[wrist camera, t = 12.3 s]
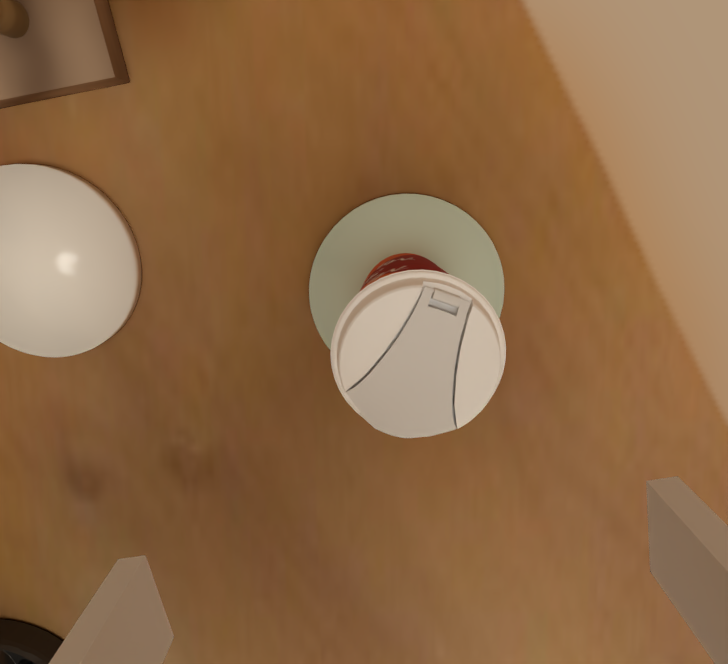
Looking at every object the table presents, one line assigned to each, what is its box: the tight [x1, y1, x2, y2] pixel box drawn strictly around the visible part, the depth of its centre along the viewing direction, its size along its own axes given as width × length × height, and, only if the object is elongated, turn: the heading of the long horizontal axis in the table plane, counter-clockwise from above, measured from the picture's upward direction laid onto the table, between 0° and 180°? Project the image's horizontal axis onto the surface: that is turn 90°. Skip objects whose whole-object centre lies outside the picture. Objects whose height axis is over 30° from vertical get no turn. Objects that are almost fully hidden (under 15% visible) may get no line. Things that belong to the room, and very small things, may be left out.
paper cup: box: [330, 253, 506, 438], centre depth 29 cm, size 8×8×14 cm
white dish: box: [0, 164, 142, 357], centre depth 36 cm, size 13×13×1 cm
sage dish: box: [309, 193, 504, 350], centre depth 36 cm, size 13×13×1 cm
